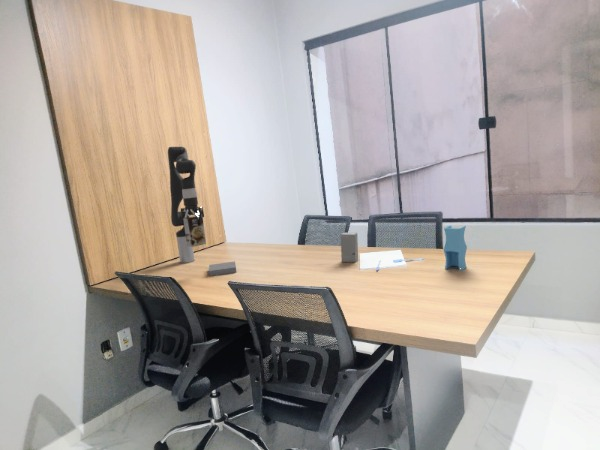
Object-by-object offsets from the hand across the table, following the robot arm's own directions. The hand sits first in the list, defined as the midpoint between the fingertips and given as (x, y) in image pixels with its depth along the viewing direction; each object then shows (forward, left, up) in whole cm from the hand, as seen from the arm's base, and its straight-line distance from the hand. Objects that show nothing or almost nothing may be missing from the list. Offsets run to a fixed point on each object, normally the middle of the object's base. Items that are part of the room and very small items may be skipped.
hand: (194, 225), depth 232 cm
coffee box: (0, 0, -11) cm, 11 cm away
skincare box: (+18, +83, -28) cm, 90 cm away
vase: (+59, +123, -28) cm, 140 cm away
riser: (0, +12, -28) cm, 31 cm away
